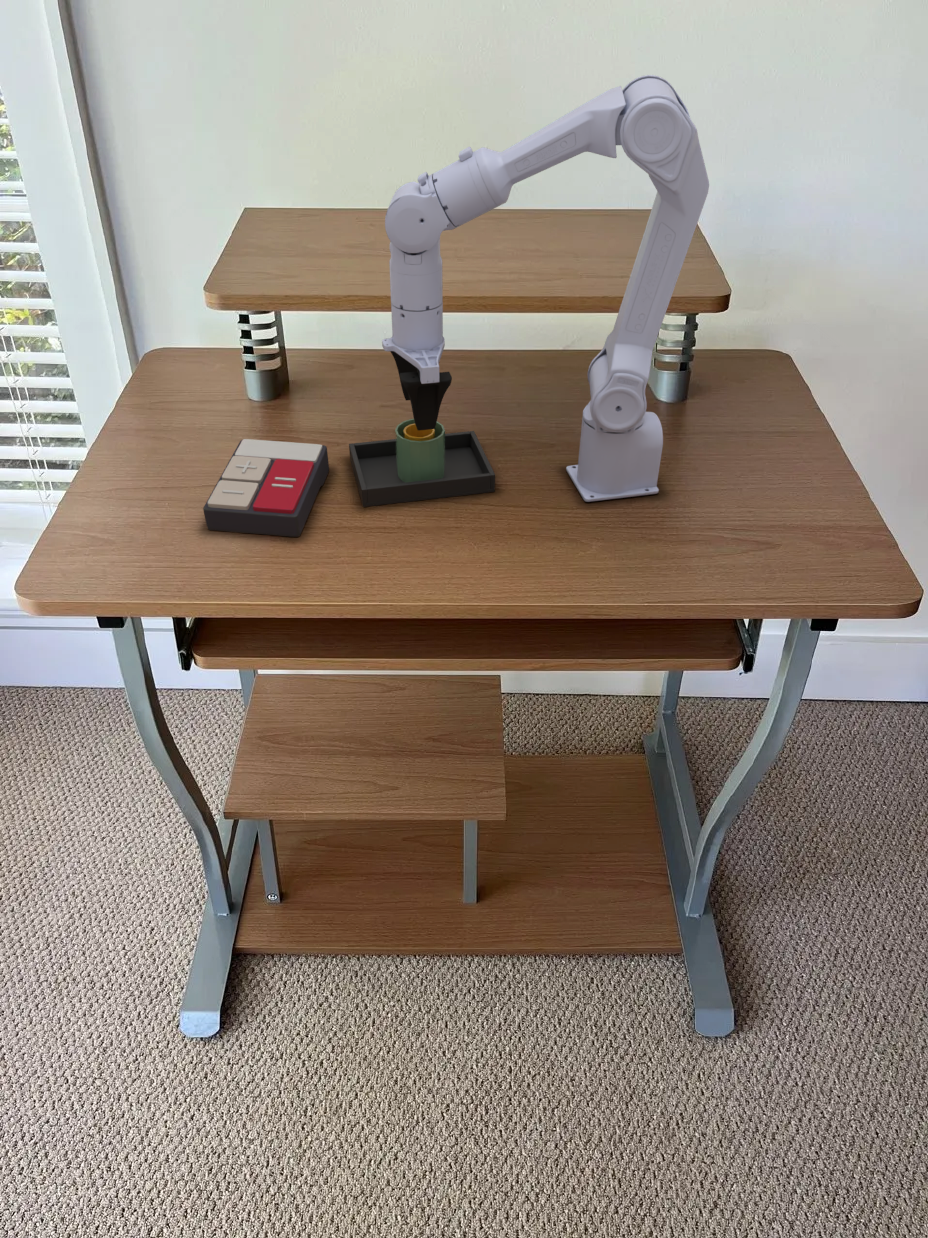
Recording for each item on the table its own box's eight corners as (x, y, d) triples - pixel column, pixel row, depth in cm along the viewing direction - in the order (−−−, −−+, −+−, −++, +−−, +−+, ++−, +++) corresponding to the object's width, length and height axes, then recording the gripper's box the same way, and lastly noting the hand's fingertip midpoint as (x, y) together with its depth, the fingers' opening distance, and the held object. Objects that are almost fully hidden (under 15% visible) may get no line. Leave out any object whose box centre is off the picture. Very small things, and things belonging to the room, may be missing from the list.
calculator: (200, 503, 111) (239, 433, 122) (207, 534, 114) (245, 462, 125) (295, 511, 110) (327, 439, 121) (300, 542, 113) (330, 469, 124)
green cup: (439, 458, 125) (439, 415, 122) (449, 482, 121) (449, 439, 117) (393, 463, 124) (391, 420, 120) (401, 487, 120) (400, 444, 116)
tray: (473, 446, 129) (474, 430, 127) (494, 491, 120) (495, 474, 119) (350, 460, 126) (348, 443, 124) (362, 507, 117) (361, 489, 116)
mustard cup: (431, 460, 124) (430, 421, 121) (437, 476, 121) (437, 436, 118) (402, 463, 123) (401, 424, 120) (408, 479, 121) (406, 439, 117)
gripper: (370, 280, 114) (376, 389, 122) (392, 330, 103) (396, 446, 111) (431, 275, 115) (432, 383, 123) (458, 325, 104) (457, 439, 112)
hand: (419, 413), depth 117 cm, fingers open, 7 cm apart
